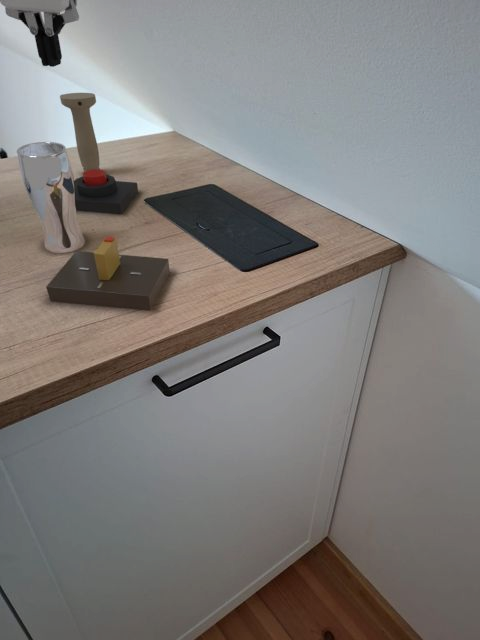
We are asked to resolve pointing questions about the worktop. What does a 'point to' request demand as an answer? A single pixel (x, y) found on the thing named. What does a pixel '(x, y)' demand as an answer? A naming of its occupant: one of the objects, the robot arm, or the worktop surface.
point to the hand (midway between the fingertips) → (52, 64)
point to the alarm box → (105, 196)
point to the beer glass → (52, 193)
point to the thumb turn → (107, 258)
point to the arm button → (94, 177)
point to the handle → (83, 127)
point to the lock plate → (110, 282)
